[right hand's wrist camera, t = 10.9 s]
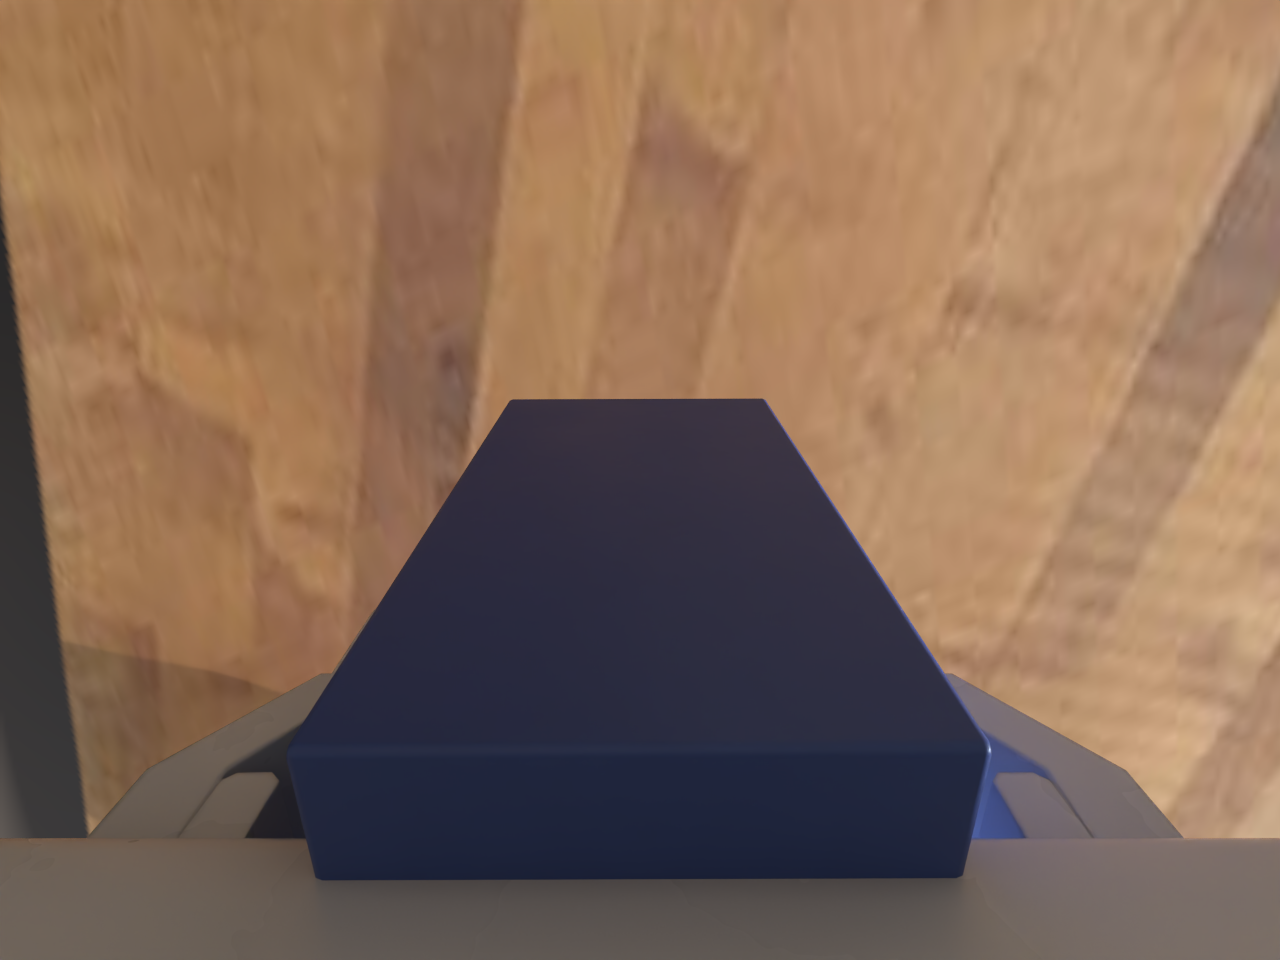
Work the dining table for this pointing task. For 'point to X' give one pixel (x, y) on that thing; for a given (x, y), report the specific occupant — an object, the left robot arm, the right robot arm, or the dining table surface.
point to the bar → (638, 674)
